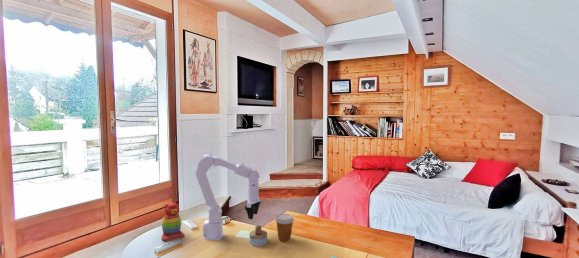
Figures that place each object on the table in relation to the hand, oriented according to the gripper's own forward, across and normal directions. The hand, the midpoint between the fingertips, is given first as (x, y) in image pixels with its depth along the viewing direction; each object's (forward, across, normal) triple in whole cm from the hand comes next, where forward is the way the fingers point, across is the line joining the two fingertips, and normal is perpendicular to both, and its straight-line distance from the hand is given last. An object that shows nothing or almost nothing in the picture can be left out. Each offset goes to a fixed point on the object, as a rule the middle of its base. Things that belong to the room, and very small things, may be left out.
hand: (253, 216), depth 148 cm
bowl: (+10, -9, -6) cm, 15 cm away
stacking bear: (+10, -12, +41) cm, 44 cm away
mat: (+10, -2, +4) cm, 11 cm away
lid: (+6, -9, -6) cm, 12 cm away
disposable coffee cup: (+10, -2, -18) cm, 21 cm away
